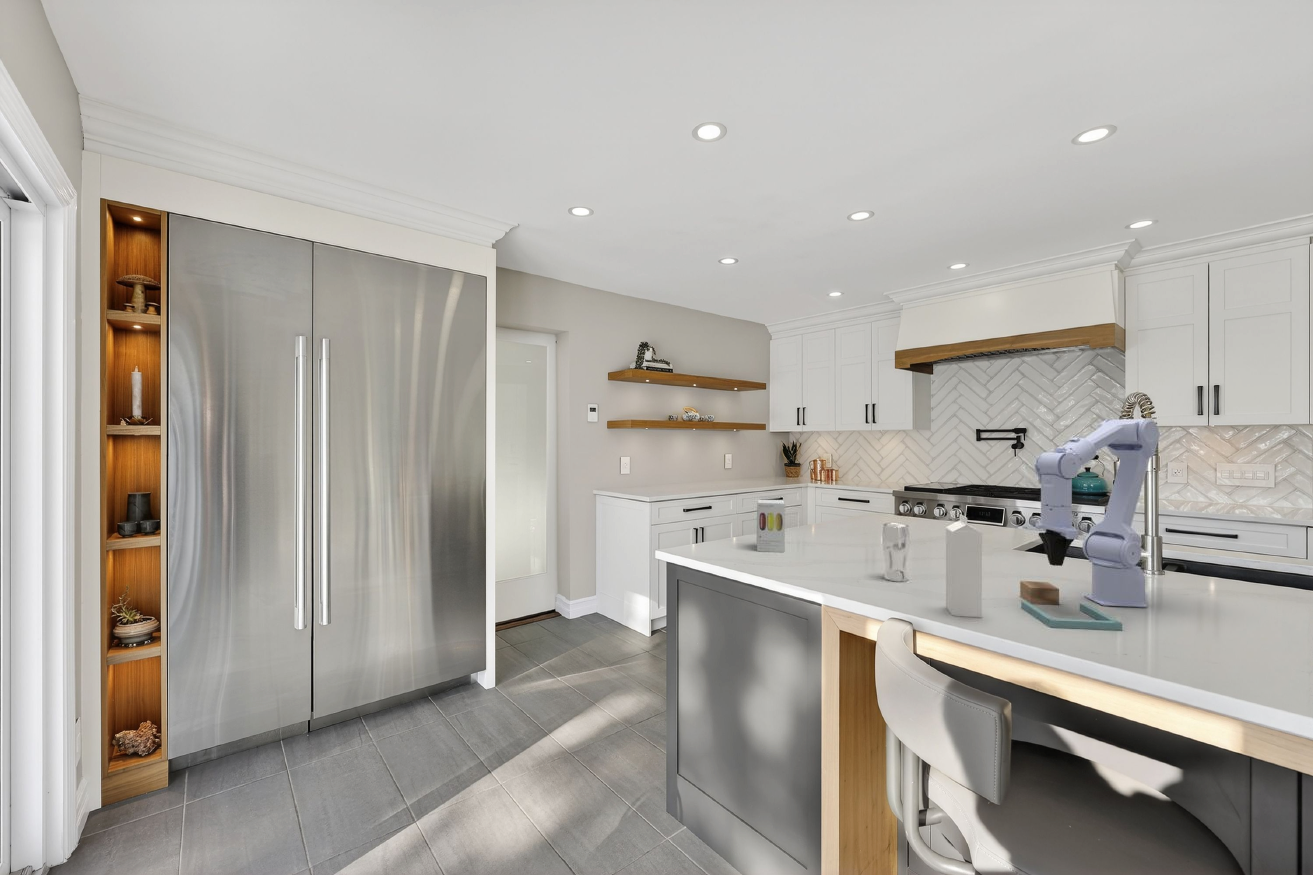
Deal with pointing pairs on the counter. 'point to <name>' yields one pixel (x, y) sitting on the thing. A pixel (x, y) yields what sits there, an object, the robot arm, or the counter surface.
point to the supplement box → (771, 526)
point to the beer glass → (895, 551)
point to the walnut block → (1039, 592)
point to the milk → (963, 569)
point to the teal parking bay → (1101, 623)
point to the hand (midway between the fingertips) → (1055, 565)
